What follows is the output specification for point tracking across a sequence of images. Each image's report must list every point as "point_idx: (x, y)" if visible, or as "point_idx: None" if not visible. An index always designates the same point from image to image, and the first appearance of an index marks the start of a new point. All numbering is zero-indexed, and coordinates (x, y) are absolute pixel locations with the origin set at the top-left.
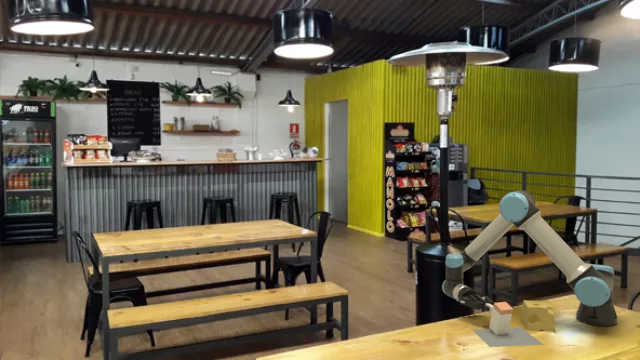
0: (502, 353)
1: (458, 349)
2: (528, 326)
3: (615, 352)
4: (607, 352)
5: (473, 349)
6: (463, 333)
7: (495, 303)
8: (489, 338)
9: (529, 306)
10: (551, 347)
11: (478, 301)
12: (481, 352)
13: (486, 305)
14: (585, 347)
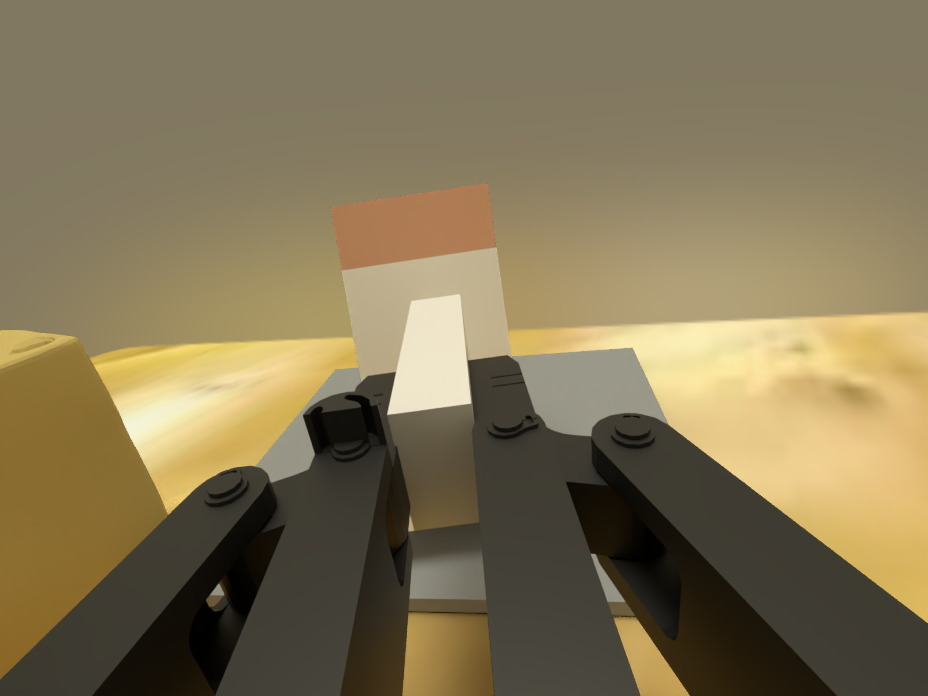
0: (582, 332)
1: (835, 345)
2: (160, 502)
3: (150, 353)
4: (174, 352)
5: (734, 348)
6: (861, 557)
7: (477, 188)
8: (598, 418)
9: (18, 354)
10: (316, 371)
11: (565, 596)
12: (689, 332)
13: (472, 401)
14: (185, 374)
